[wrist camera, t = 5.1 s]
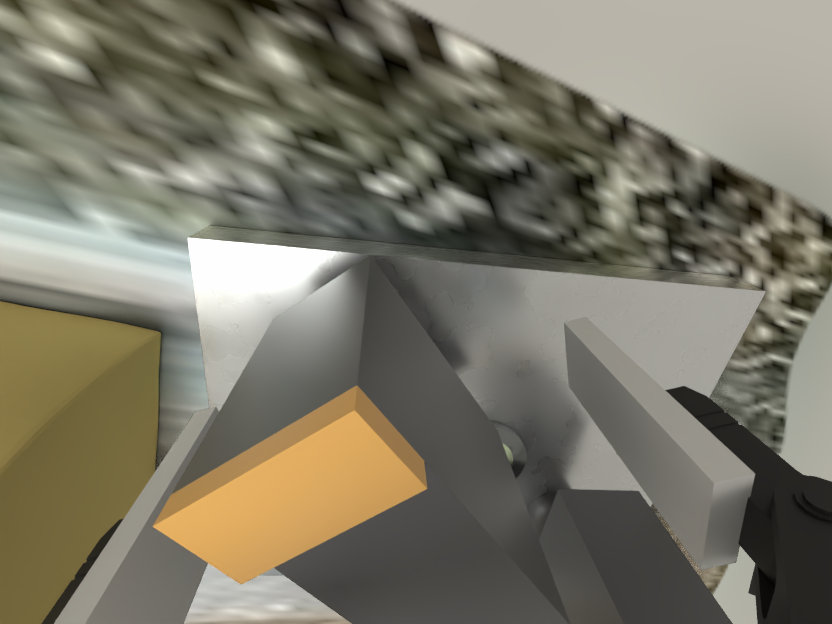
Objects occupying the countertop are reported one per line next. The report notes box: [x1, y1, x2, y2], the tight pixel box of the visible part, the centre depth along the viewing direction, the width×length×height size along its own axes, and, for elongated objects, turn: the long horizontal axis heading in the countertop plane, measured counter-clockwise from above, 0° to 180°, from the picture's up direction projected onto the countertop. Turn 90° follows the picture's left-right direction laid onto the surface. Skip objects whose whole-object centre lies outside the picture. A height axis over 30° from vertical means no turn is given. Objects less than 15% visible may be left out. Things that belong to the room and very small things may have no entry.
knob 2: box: [527, 489, 732, 624], centre depth 18 cm, size 9×4×10 cm, turn 173°
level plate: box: [188, 226, 766, 576], centre depth 20 cm, size 20×24×3 cm
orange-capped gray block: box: [152, 255, 570, 624], centre depth 12 cm, size 9×4×10 cm, turn 32°
